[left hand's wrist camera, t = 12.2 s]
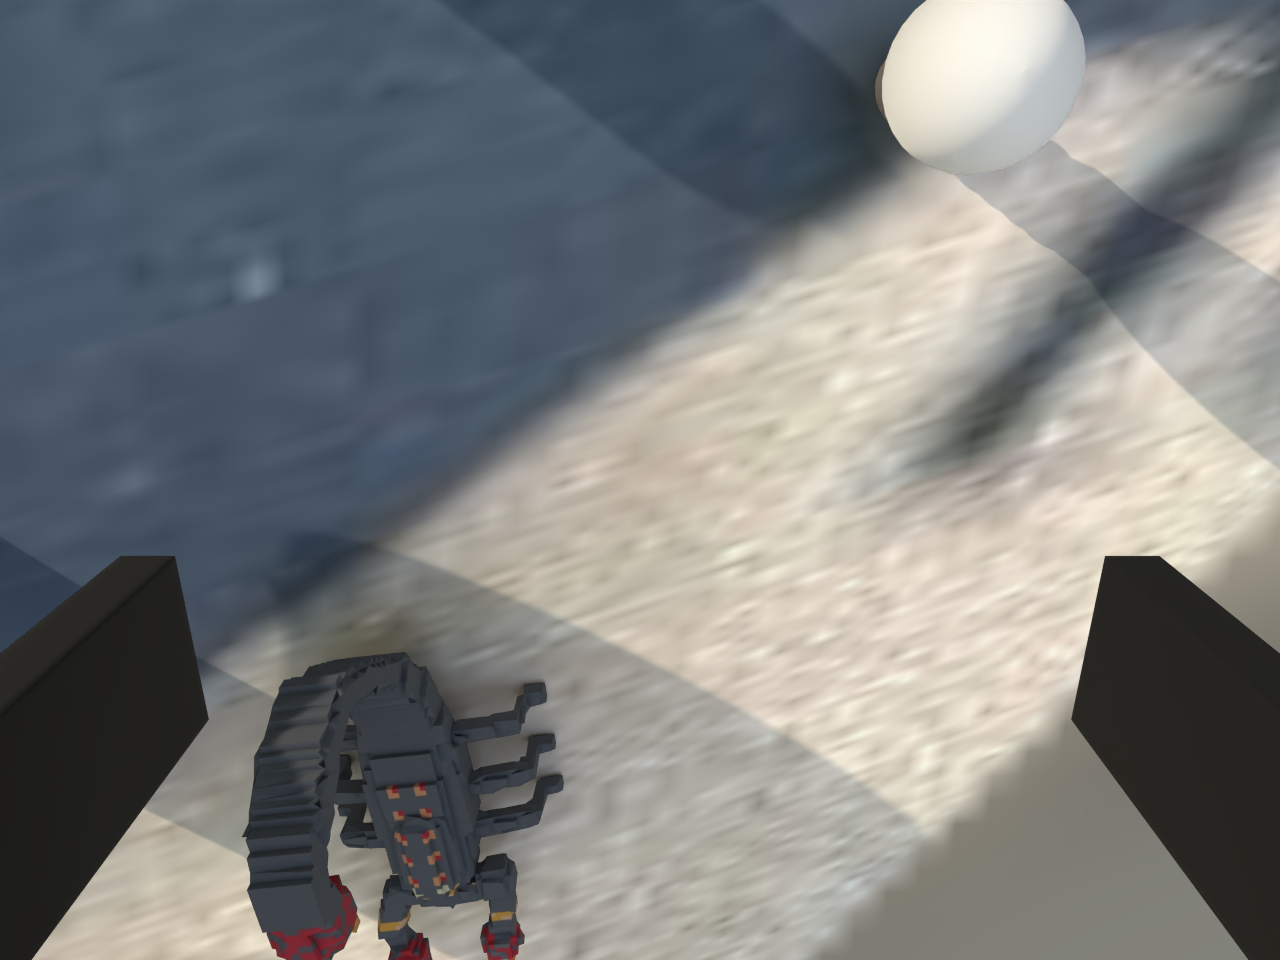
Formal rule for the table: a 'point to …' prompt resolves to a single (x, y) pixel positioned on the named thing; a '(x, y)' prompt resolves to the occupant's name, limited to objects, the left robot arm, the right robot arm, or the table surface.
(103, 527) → the table surface
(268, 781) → the toy
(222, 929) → the table surface
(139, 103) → the table surface
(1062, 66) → the light bulb
